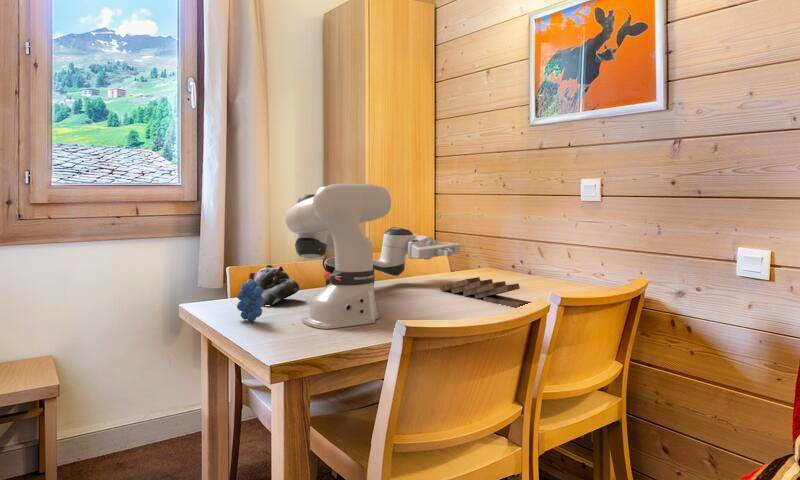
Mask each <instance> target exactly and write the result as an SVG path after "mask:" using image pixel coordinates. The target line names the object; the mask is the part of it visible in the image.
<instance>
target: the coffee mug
mask: <svg viewBox="0 0 800 480" xmlns="http://www.w3.org/2000/svg"><path fill="white" fill-rule="evenodd" d="M322 267H323V269H324V272H330V273H331V274H332V273H333V271H334V269H335V257H329V258H324V259H323V260H322ZM330 279H331V278H330ZM330 279H325V287H326V286H327V285H328V284H330Z"/></svg>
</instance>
